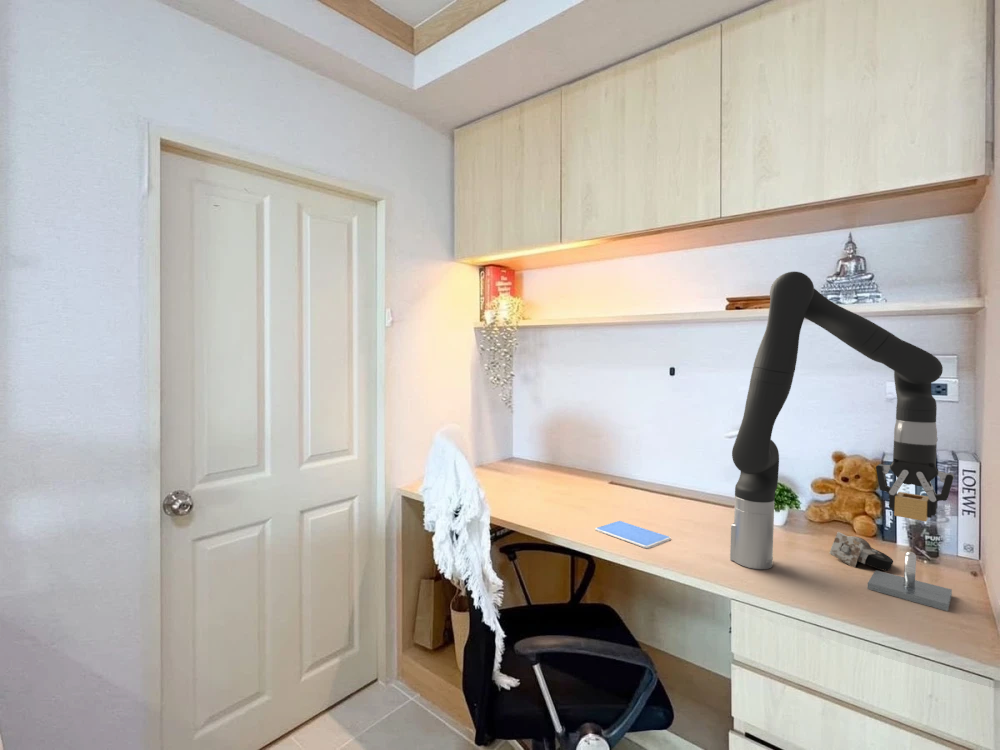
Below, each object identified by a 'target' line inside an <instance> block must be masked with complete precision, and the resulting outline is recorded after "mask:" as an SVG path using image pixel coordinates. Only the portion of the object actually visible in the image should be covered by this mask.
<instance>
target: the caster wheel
mask: <svg viewBox="0 0 1000 750" xmlns="http://www.w3.org/2000/svg"><path fill="white" fill-rule="evenodd" d="M829 555H830V556H833V557H834V558H836V559H838V560H840V561H841V562H843V563H845V564H846V565H849V566H850V567H852V568H856V566H857V564H858V563H861V564H863V565H868V566H870V567H872V568H875V569H878V570H881V571H887V572H888V571H890V570H891V568H892V566H893V564H894V559H892V557H891V556H889V555H887V554H886V553H884V552H881V551H880V550H877V549H875V548H873V547H872V546H871V545H870V543H869V542H868V541H867V540H866V539H864V538H862V537H860V536H854V535H853V536H852V535H850V536H849V535H846V534H844V533H842V532H840V531H837V533H836V534H835V538H834V540H833V542H832V545H831V548H830V550H829Z"/></svg>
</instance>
